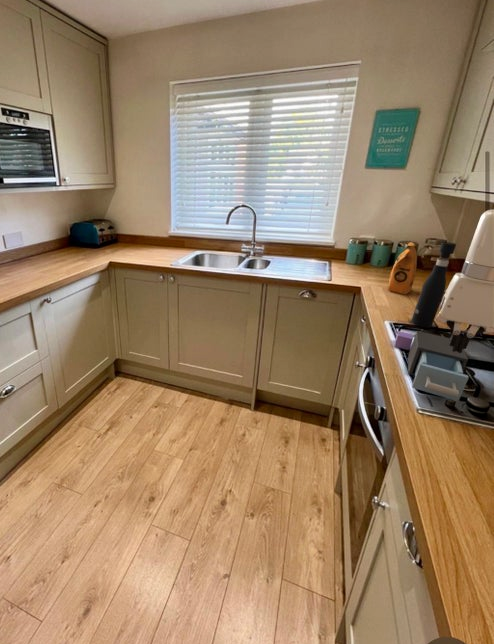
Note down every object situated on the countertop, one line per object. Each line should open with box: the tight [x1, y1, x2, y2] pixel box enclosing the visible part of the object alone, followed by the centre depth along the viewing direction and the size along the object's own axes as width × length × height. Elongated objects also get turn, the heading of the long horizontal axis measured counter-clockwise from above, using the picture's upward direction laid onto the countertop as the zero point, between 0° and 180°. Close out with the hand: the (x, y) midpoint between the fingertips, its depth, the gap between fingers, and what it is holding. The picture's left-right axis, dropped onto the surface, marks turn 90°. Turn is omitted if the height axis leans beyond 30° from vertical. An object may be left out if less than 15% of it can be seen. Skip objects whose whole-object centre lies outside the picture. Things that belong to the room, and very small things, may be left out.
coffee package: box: [387, 241, 418, 295], centre depth 152 cm, size 10×12×22 cm
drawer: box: [411, 351, 469, 402], centre depth 82 cm, size 15×9×7 cm, turn 148°
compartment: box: [407, 330, 469, 377], centre depth 91 cm, size 12×11×9 cm
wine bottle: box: [410, 241, 457, 329], centre depth 116 cm, size 6×6×30 cm
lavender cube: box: [394, 330, 414, 351], centre depth 105 cm, size 4×4×4 cm
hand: (455, 349), depth 75 cm, fingers closed
